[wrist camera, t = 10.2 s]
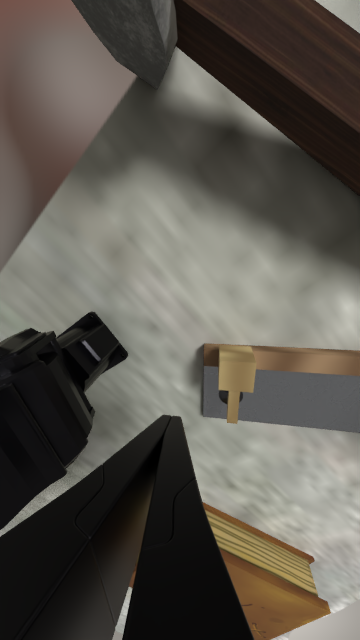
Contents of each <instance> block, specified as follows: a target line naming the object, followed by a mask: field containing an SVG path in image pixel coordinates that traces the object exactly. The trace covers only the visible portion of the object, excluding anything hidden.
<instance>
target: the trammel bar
mask: <svg viewBox="0 0 360 640" xmlns="http://www.w3.org/2000/svg"><path fill="white" fill-rule="evenodd" d="M204 366H212V367H218V388H219V390H226V391H228V395H227V400H228V402H227V423H235V424H237V421H238V409H239V397H240V392H250V393H253V390H254V382H255V373H256V369H259V370H274V371H290V372H305V373H321V374H336V375H352V376H360V351H354V350H332V349H311V348H290V347H269V346H247V345H226V344H204Z"/></svg>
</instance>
